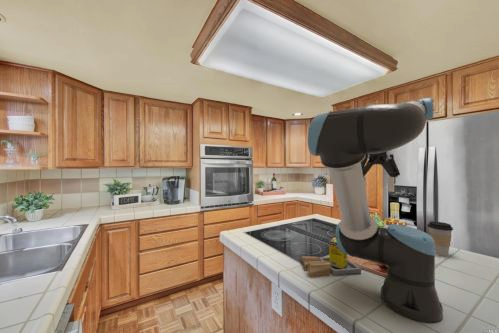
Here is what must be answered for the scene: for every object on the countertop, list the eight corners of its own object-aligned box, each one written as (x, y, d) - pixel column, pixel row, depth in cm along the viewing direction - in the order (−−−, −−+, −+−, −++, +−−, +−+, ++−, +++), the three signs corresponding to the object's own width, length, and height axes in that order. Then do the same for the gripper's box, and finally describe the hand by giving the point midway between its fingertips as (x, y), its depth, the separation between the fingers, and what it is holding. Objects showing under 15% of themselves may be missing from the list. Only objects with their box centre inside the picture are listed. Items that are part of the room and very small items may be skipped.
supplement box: (343, 271, 84) (344, 244, 84) (328, 266, 87) (328, 240, 87) (347, 266, 88) (348, 240, 88) (333, 261, 92) (333, 237, 92)
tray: (361, 273, 83) (361, 268, 83) (333, 276, 81) (333, 271, 81) (343, 260, 95) (343, 256, 95) (318, 262, 93) (318, 257, 93)
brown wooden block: (322, 272, 85) (323, 265, 85) (305, 271, 85) (305, 264, 85) (317, 263, 93) (317, 256, 93) (301, 262, 93) (301, 256, 93)
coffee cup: (458, 259, 98) (458, 226, 98) (435, 257, 99) (435, 225, 99) (444, 251, 107) (444, 221, 107) (422, 249, 109) (423, 220, 109)
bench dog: (330, 275, 81) (330, 264, 81) (311, 277, 80) (311, 265, 80) (326, 271, 84) (326, 260, 84) (307, 273, 83) (307, 262, 83)
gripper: (395, 144, 97) (395, 190, 97) (346, 143, 93) (345, 191, 93) (410, 142, 89) (409, 192, 89) (357, 141, 85) (357, 193, 85)
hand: (377, 191), depth 91 cm, fingers open, 13 cm apart
